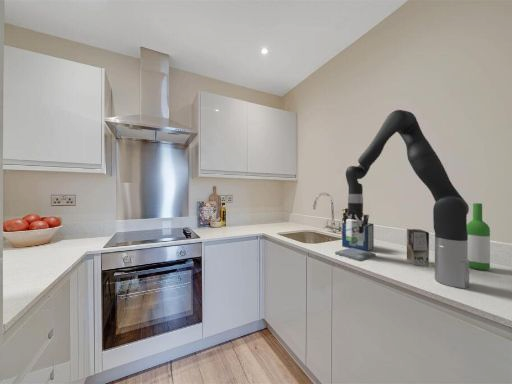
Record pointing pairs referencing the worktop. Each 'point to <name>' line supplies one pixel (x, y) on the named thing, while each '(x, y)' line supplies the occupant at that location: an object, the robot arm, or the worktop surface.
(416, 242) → the coffee box
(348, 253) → the plate
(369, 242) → the protein box
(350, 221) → the ink box
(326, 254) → the worktop surface
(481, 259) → the wine bottle
